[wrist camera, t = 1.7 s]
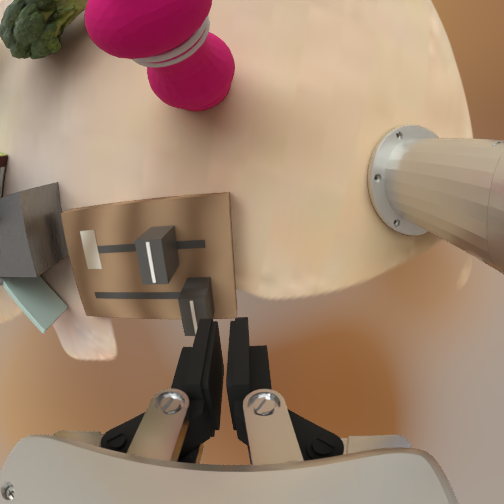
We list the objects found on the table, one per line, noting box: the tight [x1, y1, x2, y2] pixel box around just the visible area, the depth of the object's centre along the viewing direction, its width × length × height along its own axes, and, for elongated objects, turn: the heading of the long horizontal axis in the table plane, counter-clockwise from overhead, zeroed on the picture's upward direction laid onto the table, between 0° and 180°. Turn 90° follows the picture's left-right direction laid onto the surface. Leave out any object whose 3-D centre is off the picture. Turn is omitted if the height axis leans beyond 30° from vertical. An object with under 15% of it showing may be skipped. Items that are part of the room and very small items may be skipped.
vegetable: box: [0, 0, 88, 59], centre depth 13 cm, size 12×13×15 cm
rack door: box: [0, 276, 68, 334], centre depth 26 cm, size 10×2×6 cm, turn 42°
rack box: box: [0, 182, 69, 277], centre depth 23 cm, size 9×9×7 cm
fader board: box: [61, 192, 237, 336], centre depth 25 cm, size 19×13×6 cm
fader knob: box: [134, 225, 179, 285], centre depth 23 cm, size 2×4×4 cm, turn 2°
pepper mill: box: [84, 0, 235, 111], centre depth 13 cm, size 7×7×20 cm
